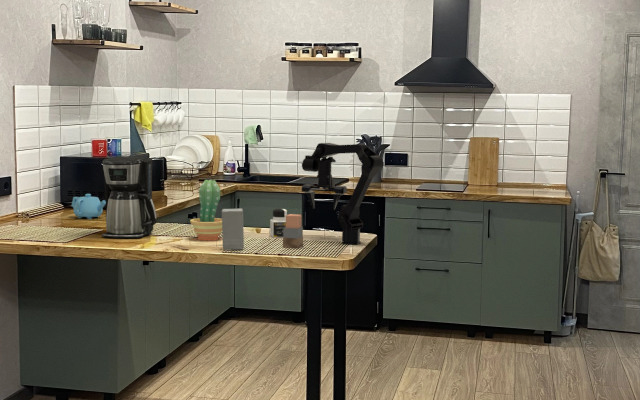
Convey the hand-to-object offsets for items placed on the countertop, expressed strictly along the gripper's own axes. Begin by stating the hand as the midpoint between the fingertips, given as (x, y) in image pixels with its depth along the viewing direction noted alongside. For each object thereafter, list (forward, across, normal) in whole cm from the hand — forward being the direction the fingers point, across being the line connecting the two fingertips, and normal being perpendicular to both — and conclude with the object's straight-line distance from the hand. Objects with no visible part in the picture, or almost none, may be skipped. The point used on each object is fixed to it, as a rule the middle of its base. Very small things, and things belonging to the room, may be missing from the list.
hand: (323, 209), depth 369 cm
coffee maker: (+13, +79, +20) cm, 83 cm away
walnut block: (+13, +5, +23) cm, 27 cm away
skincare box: (+13, +25, +38) cm, 47 cm away
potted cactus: (+13, +45, +19) cm, 51 cm away
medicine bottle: (+13, +20, 0) cm, 24 cm away
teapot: (+13, +127, -17) cm, 129 cm away
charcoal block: (+9, +5, +23) cm, 25 cm away
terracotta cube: (+5, +5, +23) cm, 24 cm away
